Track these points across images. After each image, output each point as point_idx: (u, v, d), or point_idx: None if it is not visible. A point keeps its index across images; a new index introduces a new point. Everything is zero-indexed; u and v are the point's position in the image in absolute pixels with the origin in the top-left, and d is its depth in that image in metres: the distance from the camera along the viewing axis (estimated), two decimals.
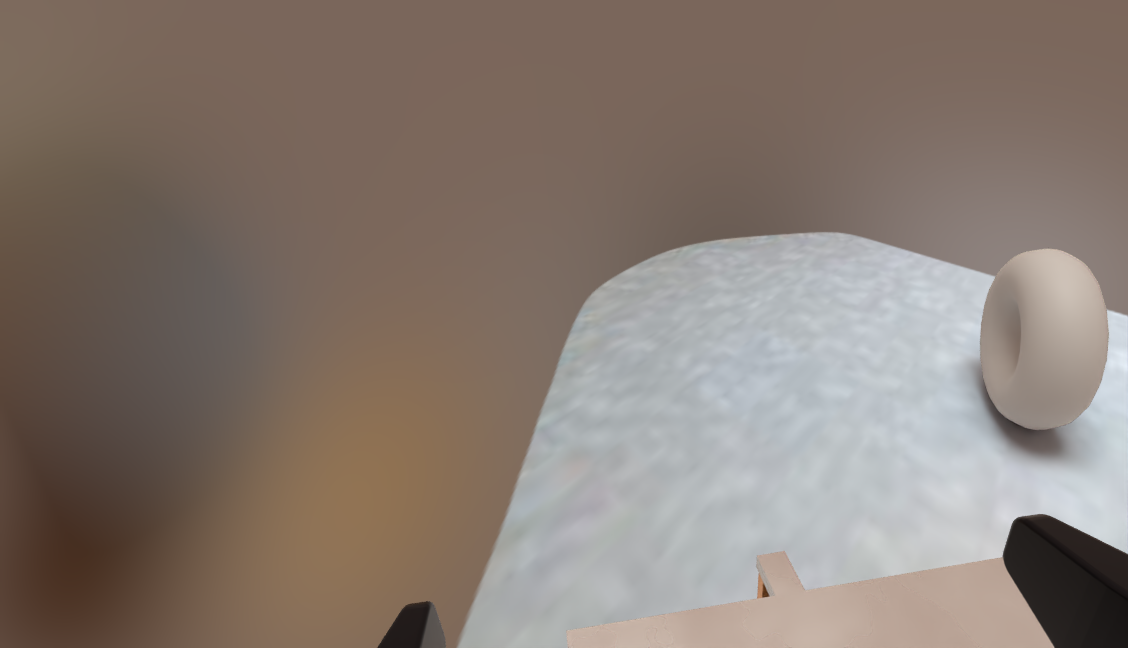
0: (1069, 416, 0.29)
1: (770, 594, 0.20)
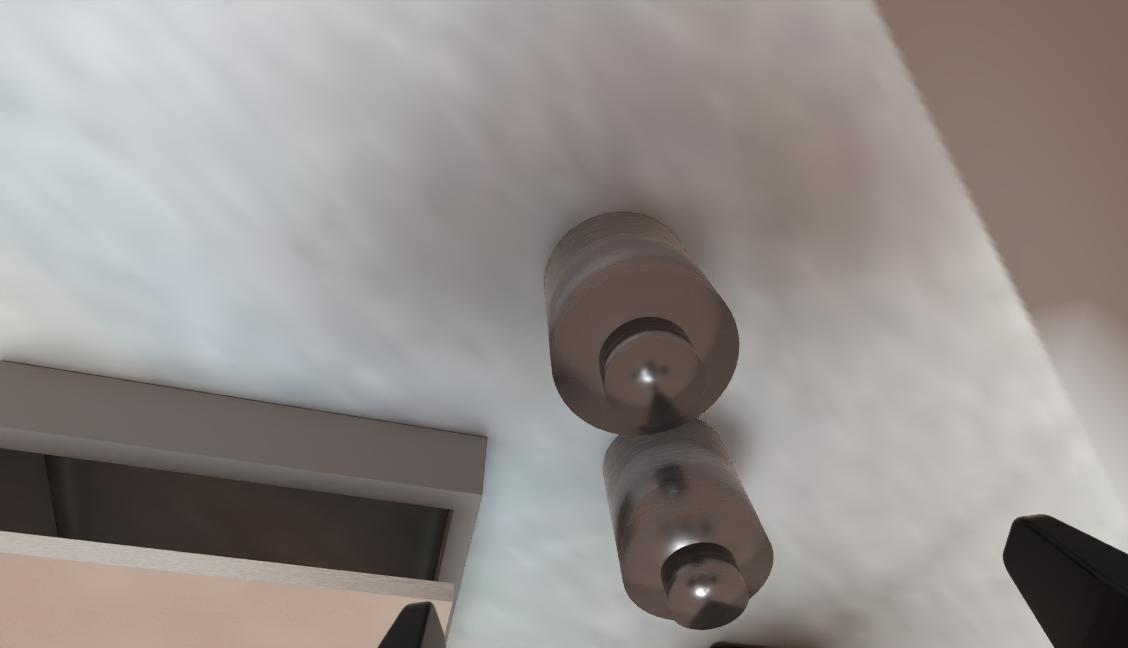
0: None
1: None
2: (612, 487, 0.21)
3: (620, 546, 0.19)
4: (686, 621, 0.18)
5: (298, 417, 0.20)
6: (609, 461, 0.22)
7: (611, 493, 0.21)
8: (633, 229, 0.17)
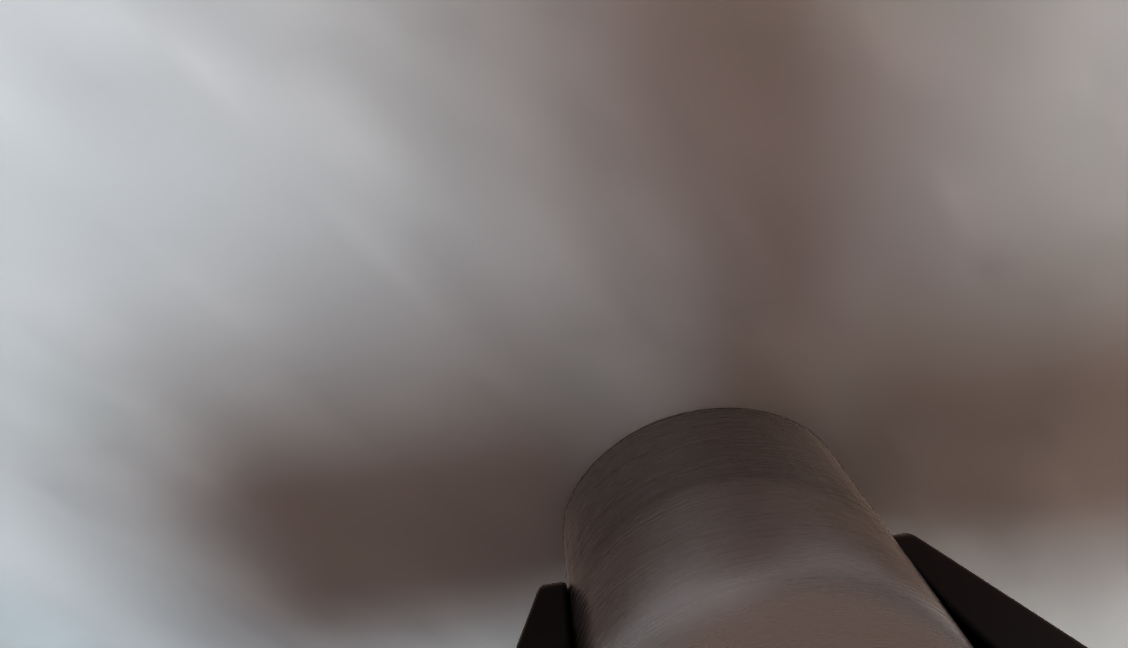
0: None
1: None
2: None
3: None
4: None
5: None
6: None
7: None
8: (772, 488, 0.07)
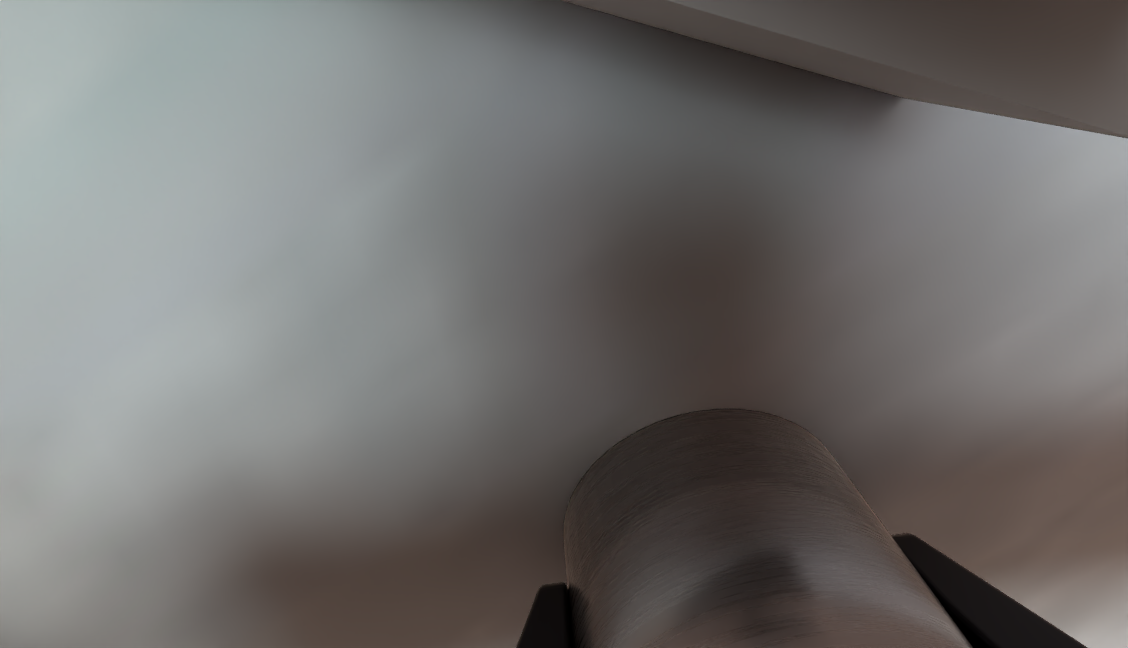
0: None
1: None
2: (812, 496, 0.07)
3: None
4: None
5: None
6: (788, 440, 0.08)
7: (805, 502, 0.07)
8: None
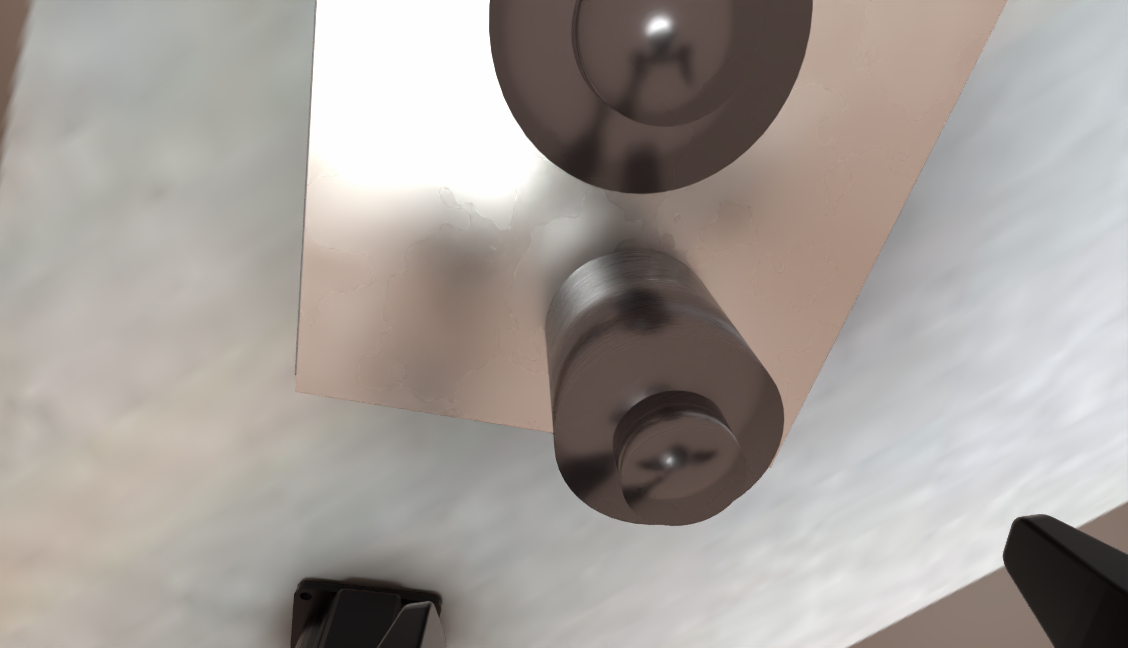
0: None
1: None
2: (672, 276, 0.14)
3: (687, 319, 0.12)
4: (647, 455, 0.11)
5: None
6: (668, 261, 0.15)
7: (667, 277, 0.14)
8: None
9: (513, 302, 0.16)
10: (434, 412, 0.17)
